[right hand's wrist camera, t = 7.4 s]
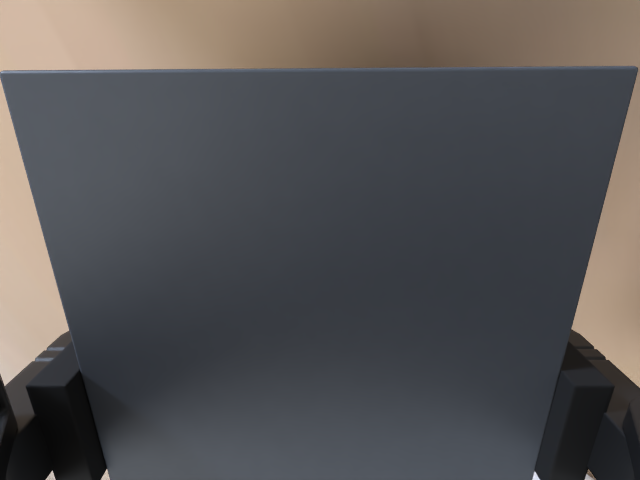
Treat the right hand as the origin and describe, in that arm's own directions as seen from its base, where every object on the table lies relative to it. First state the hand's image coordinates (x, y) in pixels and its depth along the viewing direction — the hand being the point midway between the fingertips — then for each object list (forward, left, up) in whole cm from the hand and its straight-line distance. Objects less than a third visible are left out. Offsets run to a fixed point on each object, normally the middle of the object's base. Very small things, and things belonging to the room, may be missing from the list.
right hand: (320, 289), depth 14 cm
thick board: (-3, +28, -1) cm, 28 cm away
